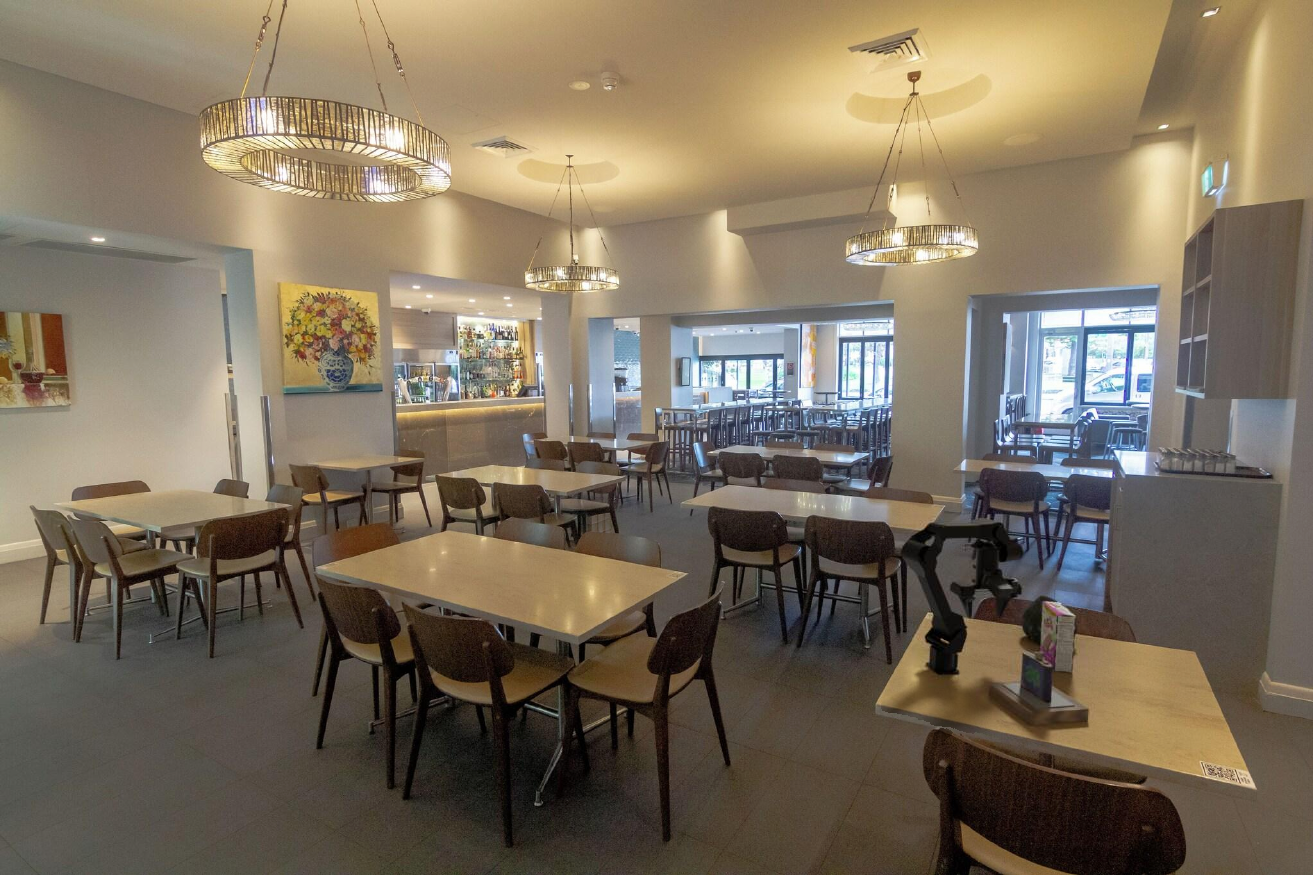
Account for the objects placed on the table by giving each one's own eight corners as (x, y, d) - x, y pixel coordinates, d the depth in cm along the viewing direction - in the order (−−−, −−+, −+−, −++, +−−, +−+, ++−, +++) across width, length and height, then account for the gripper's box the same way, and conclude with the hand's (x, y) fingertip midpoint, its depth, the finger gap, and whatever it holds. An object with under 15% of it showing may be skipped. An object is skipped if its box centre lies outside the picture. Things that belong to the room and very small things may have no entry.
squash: (1091, 625, 200) (1055, 582, 205) (1082, 641, 189) (1045, 596, 194) (1049, 644, 208) (1016, 603, 213) (1039, 661, 197) (1004, 618, 202)
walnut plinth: (1030, 725, 152) (1031, 711, 152) (988, 694, 167) (989, 681, 167) (1087, 720, 154) (1088, 707, 154) (1041, 690, 169) (1042, 678, 169)
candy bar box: (1038, 654, 191) (1041, 600, 190) (1057, 656, 190) (1060, 601, 189) (1053, 671, 180) (1057, 614, 179) (1073, 673, 179) (1077, 615, 178)
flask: (1017, 685, 165) (1020, 644, 164) (1028, 684, 165) (1031, 643, 164) (1044, 703, 156) (1047, 660, 155) (1055, 702, 156) (1058, 659, 155)
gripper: (974, 573, 174) (971, 629, 176) (1038, 571, 177) (1034, 626, 178) (950, 561, 185) (947, 614, 187) (1010, 559, 188) (1006, 612, 189)
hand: (984, 617), depth 185 cm, fingers open, 9 cm apart
